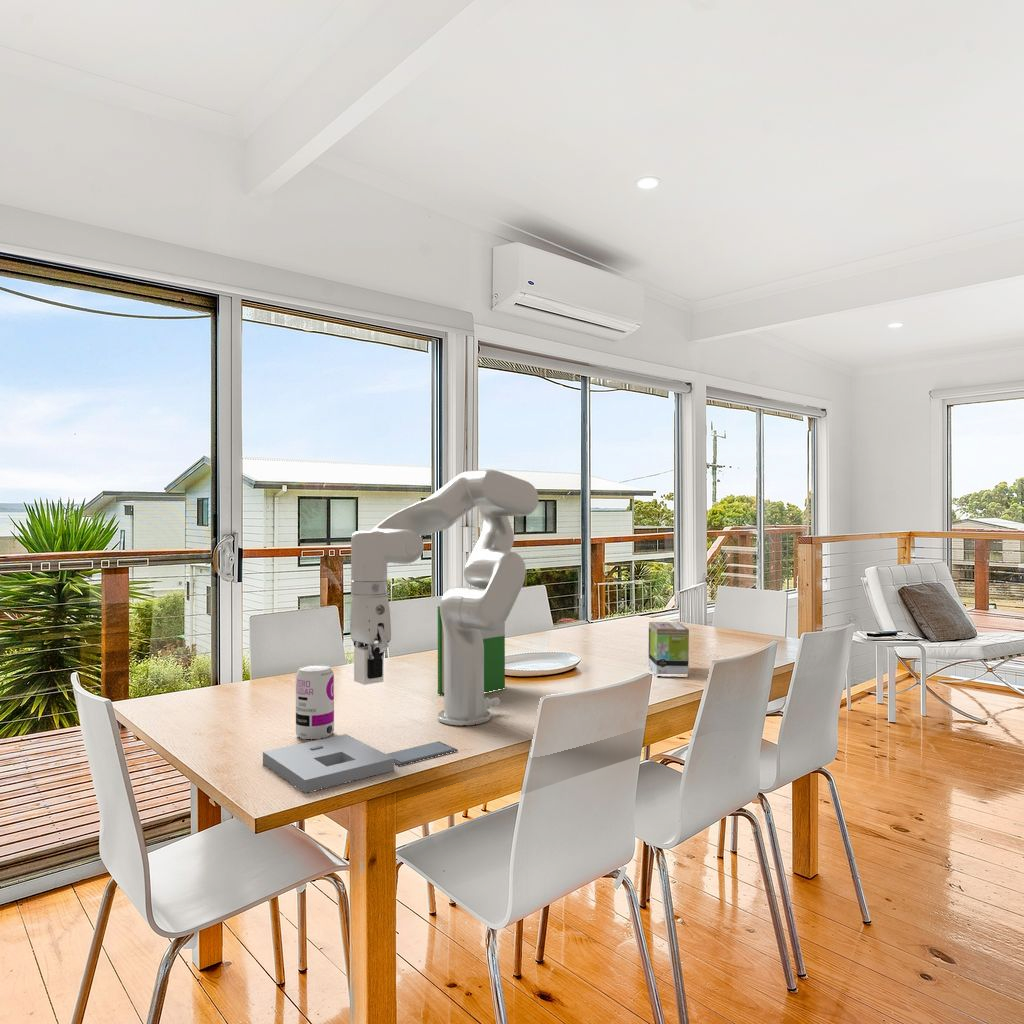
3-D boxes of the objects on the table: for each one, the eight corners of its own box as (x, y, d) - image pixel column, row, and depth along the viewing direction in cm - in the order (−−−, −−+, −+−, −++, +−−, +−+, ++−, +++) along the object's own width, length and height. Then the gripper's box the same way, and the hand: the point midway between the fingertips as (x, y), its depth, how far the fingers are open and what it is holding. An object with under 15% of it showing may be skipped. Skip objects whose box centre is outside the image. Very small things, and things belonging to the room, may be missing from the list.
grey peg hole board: (346, 745, 158) (346, 733, 158) (394, 770, 142) (394, 757, 142) (262, 763, 146) (262, 750, 146) (305, 793, 131) (305, 779, 131)
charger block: (373, 678, 159) (373, 644, 159) (383, 681, 156) (383, 647, 156) (354, 680, 156) (354, 646, 156) (364, 684, 153) (364, 650, 153)
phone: (438, 745, 159) (438, 740, 159) (457, 754, 153) (457, 748, 153) (381, 760, 150) (381, 754, 150) (398, 769, 145) (398, 763, 145)
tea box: (689, 678, 220) (689, 628, 220) (655, 678, 220) (655, 628, 220) (679, 667, 235) (679, 620, 235) (647, 667, 235) (647, 620, 235)
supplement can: (337, 729, 169) (336, 663, 169) (329, 740, 161) (329, 671, 161) (301, 729, 169) (301, 664, 169) (291, 741, 160) (291, 672, 160)
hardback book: (454, 700, 195) (454, 609, 195) (437, 694, 200) (437, 606, 200) (504, 689, 207) (504, 603, 206) (488, 684, 212) (487, 601, 212)
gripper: (405, 591, 152) (405, 680, 152) (366, 584, 165) (365, 666, 165) (372, 593, 147) (372, 685, 147) (334, 586, 160) (334, 671, 160)
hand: (368, 674), depth 156 cm, fingers closed on charger block, 4 cm apart
